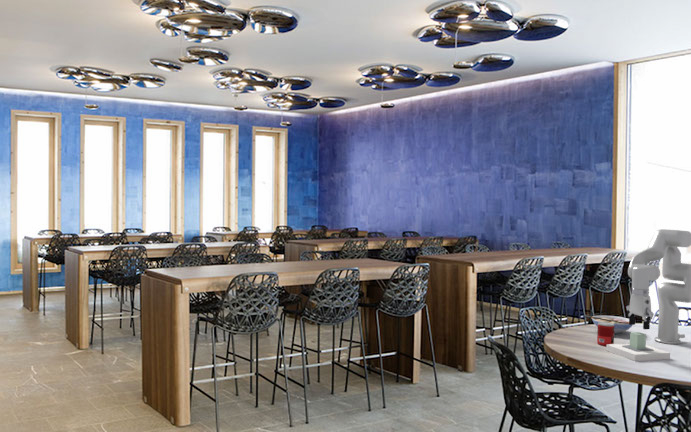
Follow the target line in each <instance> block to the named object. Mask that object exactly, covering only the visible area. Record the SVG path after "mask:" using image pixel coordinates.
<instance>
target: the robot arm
mask: <svg viewBox="0 0 691 432" xmlns="http://www.w3.org/2000/svg"><path fill="white" fill-rule="evenodd" d="M690 246H691V231H689V230H679V229H657V230H656V231H655V232H654V233H653V236H652V238H651V239H650V242H649V244H648V246H647V248H646V249H643V250H642V251H640V252H638V253H637V254H635V255H634V256H632V259H631V261H630V263H629V266H628V268H627V275H628V277H629V278H630V279H631V294H630V299H629V305H626V306H625V308H626V312H627V314H628V319H629V325H632V326H635V325H636V316H639V317H642V318H643V321H642V322H643V325H642V329H643V330H650V327H651V325H650V324H651V321H652V320H653V318H654V317H653V316H654V315H655V314H654V312H653V311H652V303H651V296H650V281H651V282H653V281H657V280H658V279H659V278H660V276H661V274H662V277H663V279H665V280H668V282H667V281H665V282H661V283H660V284H659V285H658V287H657V295H658V323H657V336H655V337H654V341H655V342H658V343H661V344H668V345H670V344H671V345H678V344H679V345H680V344H681V343H682V340H681V339H684V338H686V335H685V334H683V333H681V334H680V333H679V318H680V316H679V315H680V310H679V307H678V305H677V303H676V302H679V303H685V304H689V303H691V263H685V262H682V252H681V251H680V249H679V248H689V247H690ZM661 259H662V270H661V269H660V268H659V267H658V266H656V265H651V264H646V263H651V262H655V261H659V260H661ZM660 270H661V271H662V272H661V271H660ZM670 281H677V282H683V283H677V282H670Z"/></svg>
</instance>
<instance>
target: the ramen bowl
mask: <svg viewBox="0 0 691 432" xmlns="http://www.w3.org/2000/svg"><path fill="white" fill-rule="evenodd" d="M584 318H589V319H591V320H592V322H593V323H594V325H595V326H596V327H597V328H598V322H608V323H613V324H614V335H615V334H617V335H618V334H620V333H624V332H627V331H628V330H630V328H632V326H633V325H629V317H628V318H626V317H621V316H615V315H594V316H591V315H585V316H584Z"/></svg>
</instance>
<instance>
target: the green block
mask: <svg viewBox="0 0 691 432" xmlns="http://www.w3.org/2000/svg"><path fill="white" fill-rule="evenodd" d="M646 341H647V334H646V333H642V332H640V331H635V332H633V331H632V332H629V343H630V347H632V348H635V349H646V345H647V344H646Z"/></svg>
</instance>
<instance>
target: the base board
mask: <svg viewBox="0 0 691 432" xmlns="http://www.w3.org/2000/svg"><path fill="white" fill-rule="evenodd" d="M605 347H606V349H605V351H607V352H610V353H613V354H615V355H618V356H620V357H623V358H625V359H628V360H631V361H633V362H642V361H656V360H657V361H659V360H661V361H662V360H671V352H670V351H667V350H664V349H663V350H662V349H660V348H657V347H654V346H652V345H648V344H646V349H635V348H632V347H630V342H628V343H614V344H606V346H605Z"/></svg>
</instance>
